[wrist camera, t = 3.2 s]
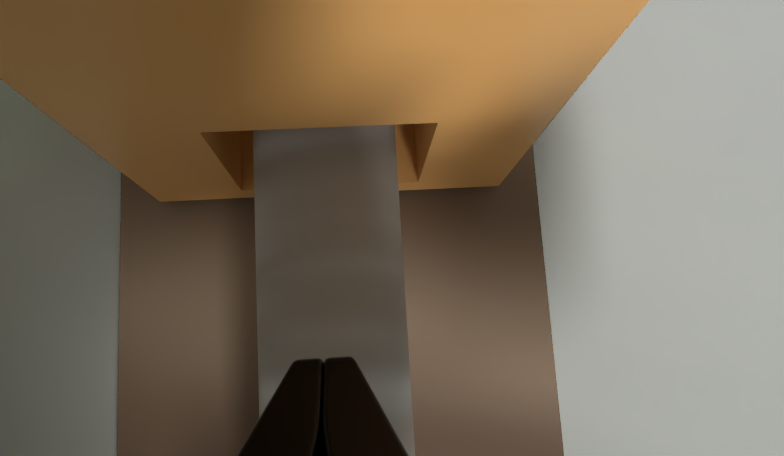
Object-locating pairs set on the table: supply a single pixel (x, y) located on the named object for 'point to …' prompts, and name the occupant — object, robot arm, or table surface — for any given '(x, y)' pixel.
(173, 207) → the pipe board
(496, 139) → the orange tan block
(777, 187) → the table surface
